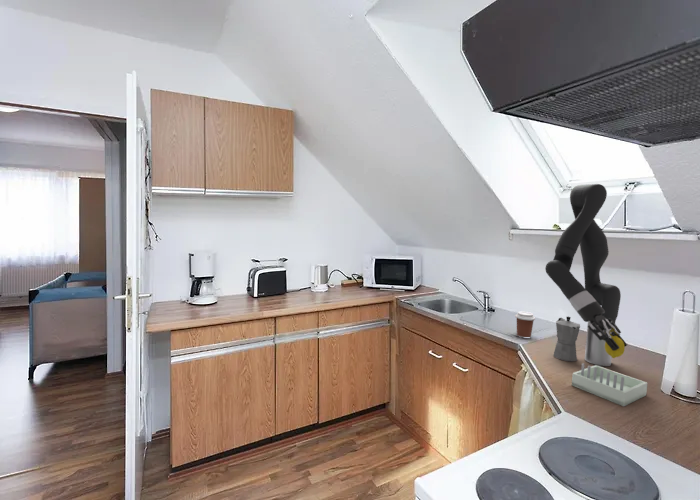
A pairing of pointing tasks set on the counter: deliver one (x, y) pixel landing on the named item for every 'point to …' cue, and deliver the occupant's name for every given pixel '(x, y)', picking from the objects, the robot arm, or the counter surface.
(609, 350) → the lemon
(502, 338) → the counter surface
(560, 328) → the coffeepot
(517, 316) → the coffee cup
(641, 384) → the dish rack
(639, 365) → the counter surface
